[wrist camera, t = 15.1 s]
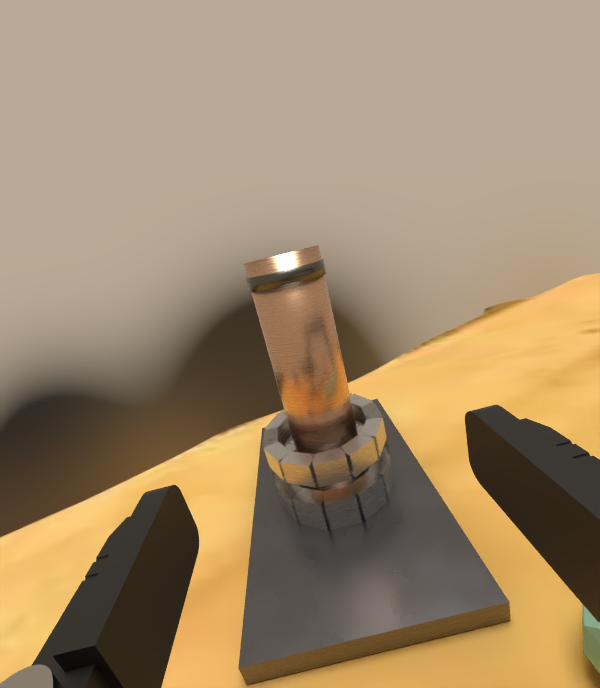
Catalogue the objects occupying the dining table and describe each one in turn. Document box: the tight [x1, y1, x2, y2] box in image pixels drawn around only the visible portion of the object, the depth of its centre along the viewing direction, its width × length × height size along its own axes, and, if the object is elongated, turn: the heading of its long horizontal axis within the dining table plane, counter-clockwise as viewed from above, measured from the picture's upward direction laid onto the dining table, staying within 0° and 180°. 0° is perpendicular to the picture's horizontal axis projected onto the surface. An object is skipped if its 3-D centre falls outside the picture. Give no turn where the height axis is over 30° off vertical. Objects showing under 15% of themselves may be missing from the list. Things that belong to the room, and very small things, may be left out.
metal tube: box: [244, 245, 366, 492], centre depth 20 cm, size 5×5×16 cm
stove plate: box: [239, 393, 510, 685], centre depth 22 cm, size 12×19×6 cm, turn 3°
